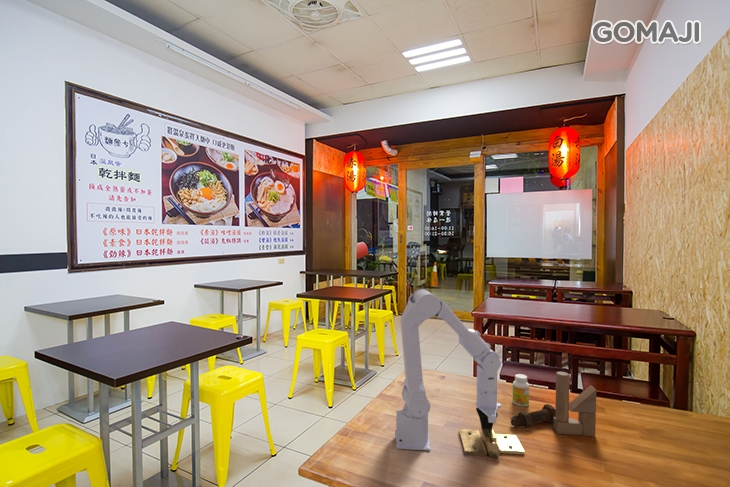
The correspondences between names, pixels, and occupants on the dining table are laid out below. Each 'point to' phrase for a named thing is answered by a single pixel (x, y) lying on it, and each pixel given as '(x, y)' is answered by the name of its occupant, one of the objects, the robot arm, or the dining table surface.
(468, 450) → the fixed leaf
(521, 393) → the supplement bottle
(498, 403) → the robot arm
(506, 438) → the loose leaf
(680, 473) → the dining table surface
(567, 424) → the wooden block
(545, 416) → the bolt
